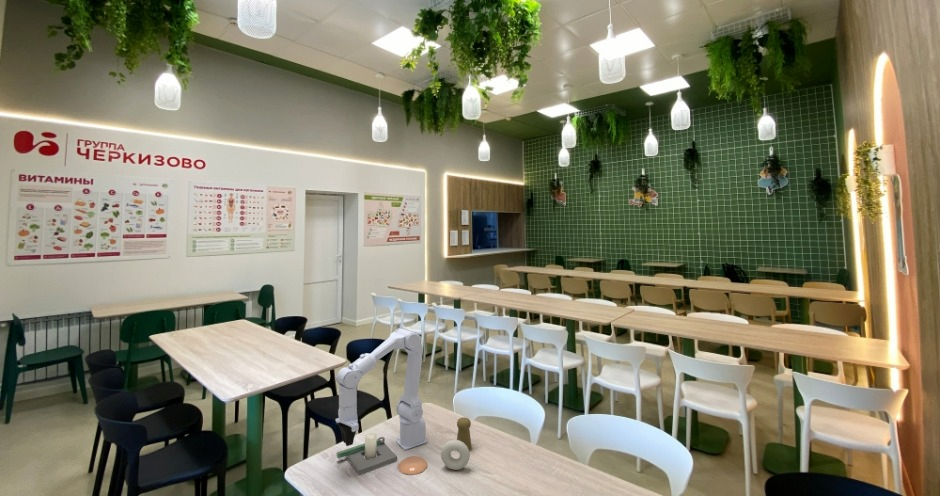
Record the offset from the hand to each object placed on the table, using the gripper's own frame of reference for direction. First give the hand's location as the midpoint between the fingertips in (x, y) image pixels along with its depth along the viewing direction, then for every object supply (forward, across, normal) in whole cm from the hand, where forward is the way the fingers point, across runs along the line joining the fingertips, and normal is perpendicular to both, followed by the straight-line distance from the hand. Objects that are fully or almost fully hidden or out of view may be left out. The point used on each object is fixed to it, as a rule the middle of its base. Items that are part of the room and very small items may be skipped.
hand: (348, 443), depth 130 cm
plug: (+9, -2, +9) cm, 13 cm away
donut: (+10, +20, +30) cm, 38 cm away
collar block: (+9, -2, +9) cm, 13 cm away
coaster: (+9, +10, +19) cm, 24 cm away
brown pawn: (+10, +12, +40) cm, 43 cm away
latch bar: (+8, -7, +7) cm, 13 cm away
